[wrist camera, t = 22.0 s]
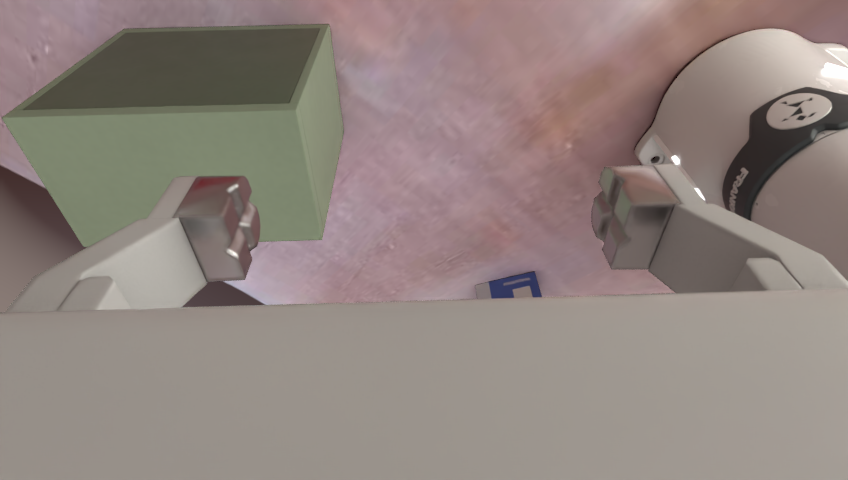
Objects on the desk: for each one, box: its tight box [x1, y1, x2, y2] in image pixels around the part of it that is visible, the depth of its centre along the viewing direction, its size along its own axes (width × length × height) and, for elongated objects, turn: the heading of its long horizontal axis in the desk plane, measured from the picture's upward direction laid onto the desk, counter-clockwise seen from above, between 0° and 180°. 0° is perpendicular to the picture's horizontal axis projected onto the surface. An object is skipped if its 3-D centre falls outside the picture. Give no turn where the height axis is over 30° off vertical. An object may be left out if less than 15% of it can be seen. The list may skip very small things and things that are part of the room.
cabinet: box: [2, 24, 344, 247], centre depth 37 cm, size 10×17×16 cm, turn 91°
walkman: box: [475, 272, 542, 299], centre depth 57 cm, size 8×3×12 cm, turn 107°
